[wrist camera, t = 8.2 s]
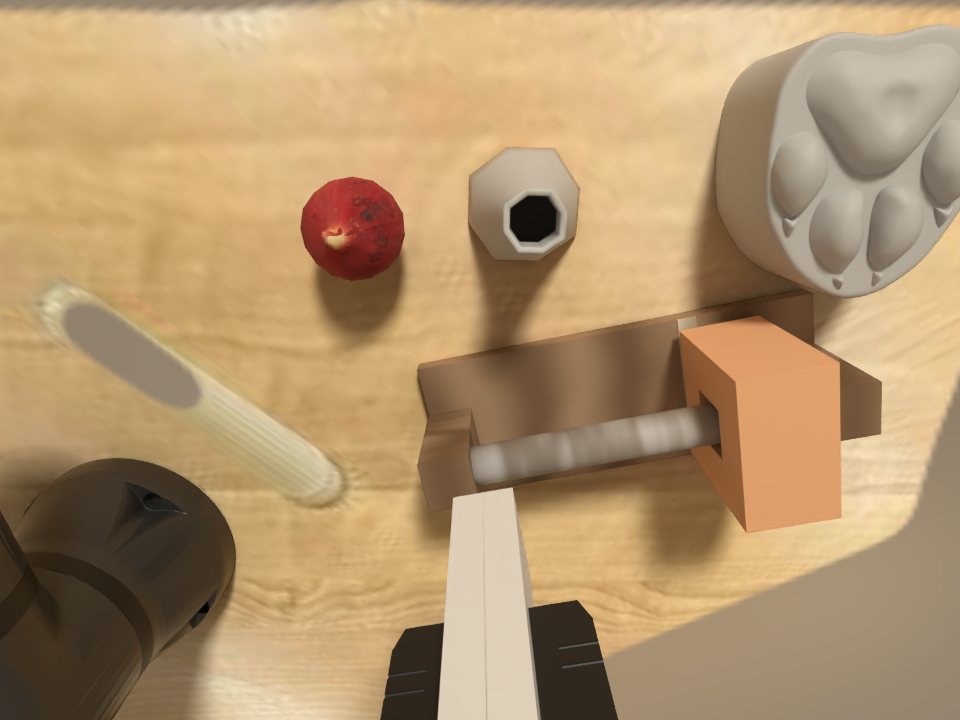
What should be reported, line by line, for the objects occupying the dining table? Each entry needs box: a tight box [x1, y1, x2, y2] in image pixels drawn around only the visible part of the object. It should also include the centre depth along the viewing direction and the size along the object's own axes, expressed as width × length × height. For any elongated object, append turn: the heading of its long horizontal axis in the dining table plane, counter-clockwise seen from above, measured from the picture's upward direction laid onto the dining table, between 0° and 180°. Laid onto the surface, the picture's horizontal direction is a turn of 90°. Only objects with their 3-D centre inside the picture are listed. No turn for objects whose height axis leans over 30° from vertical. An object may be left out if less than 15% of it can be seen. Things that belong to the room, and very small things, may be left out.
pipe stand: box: [417, 289, 882, 512], centre depth 37 cm, size 26×10×8 cm, turn 102°
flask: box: [469, 147, 580, 261], centre depth 32 cm, size 7×7×10 cm
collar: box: [679, 316, 841, 533], centre depth 34 cm, size 5×9×9 cm, turn 12°
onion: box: [300, 177, 405, 281], centre depth 34 cm, size 6×6×8 cm
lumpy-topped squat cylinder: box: [715, 24, 960, 298], centre depth 32 cm, size 10×13×9 cm
